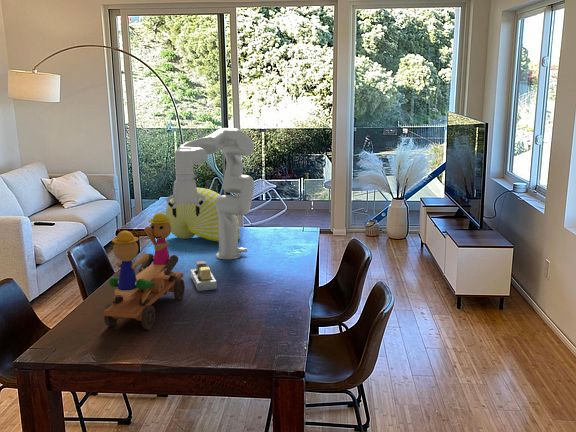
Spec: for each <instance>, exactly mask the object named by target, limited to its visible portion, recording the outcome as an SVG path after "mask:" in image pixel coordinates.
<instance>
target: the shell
mask: <svg viewBox="0 0 576 432" xmlns="http://www.w3.org/2000/svg"><path fill="white" fill-rule="evenodd" d="M196 188H197V193H199V194H201V195H203V196H205V200H204V202H203V203H202V205H201V206H200V214H198V215H199V216H197V215H196V204H195V203H190V204H178V205H177V206H176V215H177V217H176V218H175V217H174V215H173V212H172V207H170V206H169V205H167V207H166V210H165V215H166V216H167V218H169V219H172V221H171V222H169V223H170V225H171V233H170V234H172V235H174V236H175V237H177V238H179V239H183V240H186V239H191V238H193V237H194V236H198V237H201V238H203V239H205V240H209V241H214V242H217V243H219V236H218V215H217V210H216V199H217V198H218V197H219V196H221V195H222V194H220V193H218V192H216V191H214V190H212V189H209V188H205V187H196ZM197 198H198V200H197V202H198V203H199V201H200V200H201V198H200V197H198V196H197ZM170 203H172V204H173V203H174V199H173V198H172V199H171V200H170ZM234 216H235V218H236V220H237V236H238V240H239V239H240V238H241V235H240V234H241V233H240V223H239V219H238V215H234Z"/></svg>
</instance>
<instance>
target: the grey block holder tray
mask: <svg viewBox="0 0 576 432" xmlns="http://www.w3.org/2000/svg"><path fill="white" fill-rule="evenodd" d="M210 275H211V280H207V281H200V274H199V275H196V268H195V269H190V278H191V280H192V282H193V284H194V287H195V288H196V291H198V292H201V291H209V290H217V287H218V286H217V280H216V278H215V276H214V275H213V273H212V272H211V271H210Z"/></svg>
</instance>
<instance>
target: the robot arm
mask: <svg viewBox="0 0 576 432" xmlns="http://www.w3.org/2000/svg"><path fill="white" fill-rule="evenodd" d="M220 150H221V151H222V154H223V156H224V159H225V162H226V164H225V171H224V177H223V181H222V189H223V191H224V192H226V193H228V194H220V195H221V196H219V197H218V198H217V199H216V210H217V215H218V236H219V242H218V252H217V253H216V254H215V257H216V258H217V259H218V260H219V259H220V260H231V261H232V260H236V259H239V258H241V257H242V254H241V253H247V252H248V248H247V247H245V248H244V247H239V246H238V244H239V242H238V241H239V239H238V236H237V220H236V218H235V216H234V215H236V216H246V215H248V214H249V212H250V210H251V206H252V199H253V196H254V191H255V180H254V178H253V177H252V176H251V175H248V174H243V171H244V163H243V161H242V159H241V157H240V156H243V157H247V156H251V155H252V154H253V153H254V151H255V144H254V141H253V140H252V138H250V136H249V135H247V134H246V133H245V132H244V131H243V130H241V129H240V128H233V127H231V128H229V127H221V128H218V129H216V130H215V131H213V132H211V133H210V134H208V135H206V136H204V137H200V138H197V139H193V140H190V141H187V142H185V143H183V144H181V145H180V146H179V147H178V148H177V149H176V150H175V151H174V161H175V162H174V163H175V180H174V181H173V188H172V189H173V191H172V193H173V194H171V195H169V196H167V197H165V202H166V203H167V204H168V205H169V206H170V207H172V212H173V215H174V217H175V218H176V217H177V215H176V206H177V205H178V204H190V203H195V204H196V215H197V216H199V215H198V214H200V206H201V205H202V203H203V202H204V200H205V196H203V195H201V194H199V193H197V188H198V187H197V184H196V180H195V179H196V178H198V177H197V176H198V175H197V174H196V173H195V174H194V165H203V164H205V163H206V161H207V159H208V155H213V154H215V153H217V152H219V151H220ZM229 193H230V194H229ZM232 194H233V195H232ZM234 194H239V195H234ZM197 196H198V197H200V198H201V200H200V201H199V203H198V202H197V200H198V198H197ZM172 198H173V199H174V203H173V204H172V203H170V201H171V200H172ZM168 205H167V206H168Z"/></svg>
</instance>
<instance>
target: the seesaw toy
mask: <svg viewBox="0 0 576 432" xmlns="http://www.w3.org/2000/svg"><path fill="white" fill-rule="evenodd" d="M171 221H172V219H169V218H167V216H166V213H163V212H157V213H155V214H154V215H153V217H152V218H151V219H148V223H150V225H149V226H148V225H147V226H145V227H144V231H143V232H144V233H145V234H146V235H147V237H148V239H149V240H150V241H151V243H152V244H153V246H154V254H153V253H146V252H144V253H142V254H141V255H140V256H139V257H138V258H137V260H136V261H134V263H133V262H132V260H134V259H135V258H136V257H137V255H138V253H139V246H138V243H137V242H138V241H139V239H140V238H139V237H137V236H135V235H133V233H132V232H131V231H128V230H122V231H120V232H118V234H117V236H116V237H114V238H112V239H111V242H112V243H114V245H113V248H112V249H113V251H112V252H113V255H114V257H116V259H118V260H119V261H121V263H116V267H118V268H120V270H119V271H120V272H119V275H118V277H117V276H113V277H110V278H109V281H108V284H109V286H110V287H112V288H116V289H115V290H114V297H113V301H112V302H109V303H108V304H107V306H106V307H105V310H103V313H102V314H103V316H104V317H103V319H104V324H105V325H106V326H107V327H114V326H115V325H116V324H117V323H118V320H123V319H125V318H127V319H128V318H129V319H135V320H136V321H140V322H141V326H142V328H143V329H144V330H148V331H149V330H151V329H152V328H153V327H154V324H155V320H156V309H155V307H154V306H153V305H152V304H154V303H155V302H156V301H157V300H159V299H160V298H161V297H162V296H163V295H167V294H168V293H173V297H174V299H175V300H176V301H181V300H183V297H184V296H185V291H186V290H185V287H186V286H185V281H184V280H183V278H184V272H177V271H176V272H175V271H173V269H174V268H175V266H176V265H177V264H178V263H179V257H178V255H175V254H173V255H171V256H170V252H169V250H168V246H170V244H171V243H170V242H168V241H166V239H167V238H168V237H169V236H170V235H171V234H172V233H171V225H170V223H169V222H171ZM139 266H140V267H139ZM137 267H139V268H138V272H139V273H137V274H136V273H135V270H136V268H137Z"/></svg>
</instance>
